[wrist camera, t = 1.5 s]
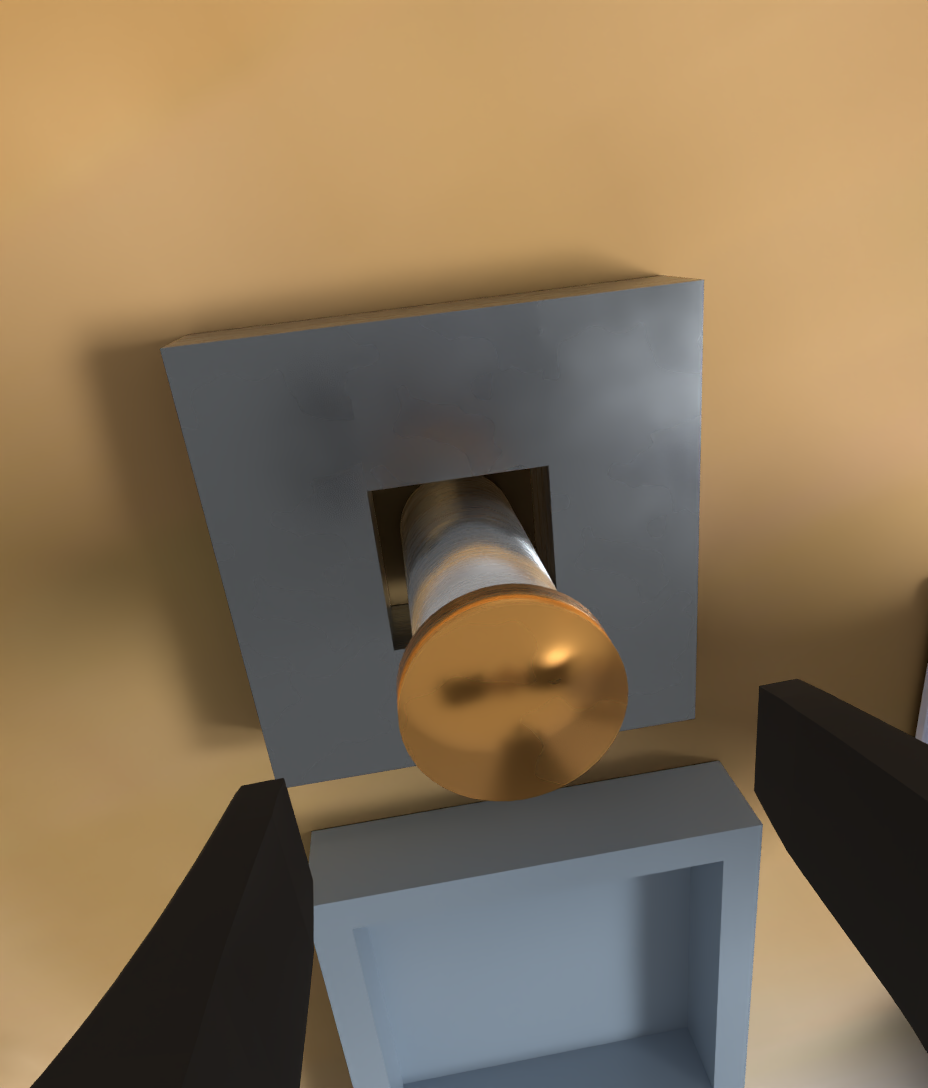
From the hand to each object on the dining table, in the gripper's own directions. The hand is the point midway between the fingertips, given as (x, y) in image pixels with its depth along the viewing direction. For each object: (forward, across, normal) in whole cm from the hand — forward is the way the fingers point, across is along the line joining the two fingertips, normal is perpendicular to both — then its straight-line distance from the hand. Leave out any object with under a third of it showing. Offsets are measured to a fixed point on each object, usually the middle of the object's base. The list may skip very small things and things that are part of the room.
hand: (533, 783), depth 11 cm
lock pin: (+11, 0, 0) cm, 11 cm away
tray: (+10, -1, +17) cm, 20 cm away
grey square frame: (+10, 0, 0) cm, 11 cm away
